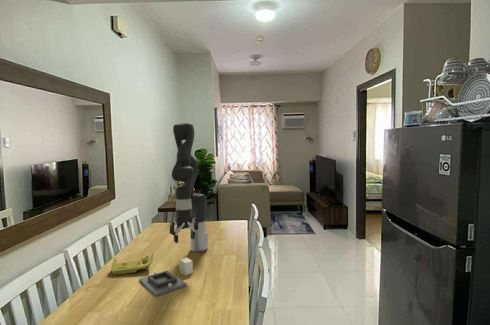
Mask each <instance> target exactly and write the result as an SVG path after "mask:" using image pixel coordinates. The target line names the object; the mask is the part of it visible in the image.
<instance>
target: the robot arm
mask: <svg viewBox="0 0 490 325" xmlns="http://www.w3.org/2000/svg"><path fill="white" fill-rule="evenodd" d="M172 129H173V130H172V131H173V135H174V140H175V141H174V142H175V144H176V148H177V152H176V153H177V154H176V161H175V164H174V166H173V168H172V170H171V179H173V180H172V181H174V182H183V185H180V186H177V187H175V215H176V216H175V218H176V219H175V221H172V220H171V221H170V222H169V234H170V235H172V236H173V242H174V243H175V244H178V243H179V234H180V233H181V230H185V229H189V238H190V239H189V240H190V244H189V246H190V251H191V252H194V253H199V252H204V251H206V250H208V249H209V246H208V244H209V243H208V232H207V226H206V225H207V224H206V221H207V220H206V219H207V218H206V217H207V206H208V205H207V204H208V202H207V196H206V195H205V194H204V193H195V183H196V180H197V178H198V174H199V169H198V162H197V160H196V159H195V157H194V156H193V155H192V150H193V144H194V140H195V128H194V125H193V123H191V122H184V123H177V124H174V125H173V127H172ZM183 141H184V142H183ZM193 210H196V213H195V214H193Z"/></svg>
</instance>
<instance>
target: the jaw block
mask: <svg viewBox="0 0 490 325" xmlns="http://www.w3.org/2000/svg"><path fill="white" fill-rule="evenodd" d="M178 263H179V265H178V266H179V267H178V268H179V269H178V270H179V272H180V273H181V274H183V275H184V276H187V275H188V276H189V275H191V274H193V273H194V270H193V269H194V268H193V267H194V266H193V265H194V264H193V259H190V258H188V257H182V258H179V260H178Z"/></svg>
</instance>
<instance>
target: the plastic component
mask: <svg viewBox="0 0 490 325" xmlns="http://www.w3.org/2000/svg"><path fill="white" fill-rule="evenodd" d="M154 256H155V253H153V252H152V253H151V255H146V256H142V257H140V258H139V259H135V260H126V261H125V260H124V261H117V258H115V257H114V258H113V260H112V262H111V268H110V269H111V272H112V274H113V275H125V274H130V273H131V274H133V273H136V272H137V271H139V270H148V269H150V266H151V265H152V263H153V262H154Z"/></svg>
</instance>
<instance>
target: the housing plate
mask: <svg viewBox="0 0 490 325" xmlns="http://www.w3.org/2000/svg"><path fill="white" fill-rule="evenodd" d="M138 281H139V282H140V283H141V284H142V285H143V286H144V287H145V288H146V289H147V290H148V291H150V293H151V294H152V295H153V296H155V297H159V296H161V295H162V296H163V295H164V294H168V293H170V292H173V291H177V290H179V289H182V288H185V287H187V283H186V282H184V280H181V278H179V277H178V276H176V274H173V273H172V272H171V271H169V270H164V271H161V272H157V271H153V274H151V275H148V276H145V277H141V278H139V279H138Z"/></svg>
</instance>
